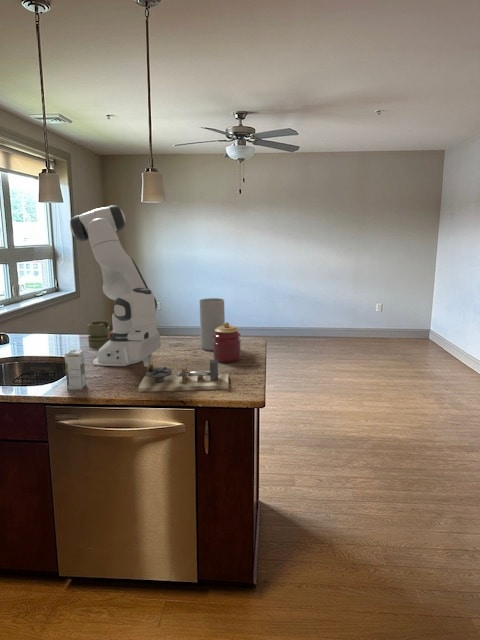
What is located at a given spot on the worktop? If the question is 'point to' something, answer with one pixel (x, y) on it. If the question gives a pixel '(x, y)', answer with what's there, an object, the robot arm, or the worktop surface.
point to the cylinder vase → (210, 320)
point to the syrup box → (75, 369)
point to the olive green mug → (98, 333)
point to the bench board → (176, 384)
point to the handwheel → (157, 371)
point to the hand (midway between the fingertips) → (147, 365)
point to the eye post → (184, 373)
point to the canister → (226, 343)
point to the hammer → (212, 373)
